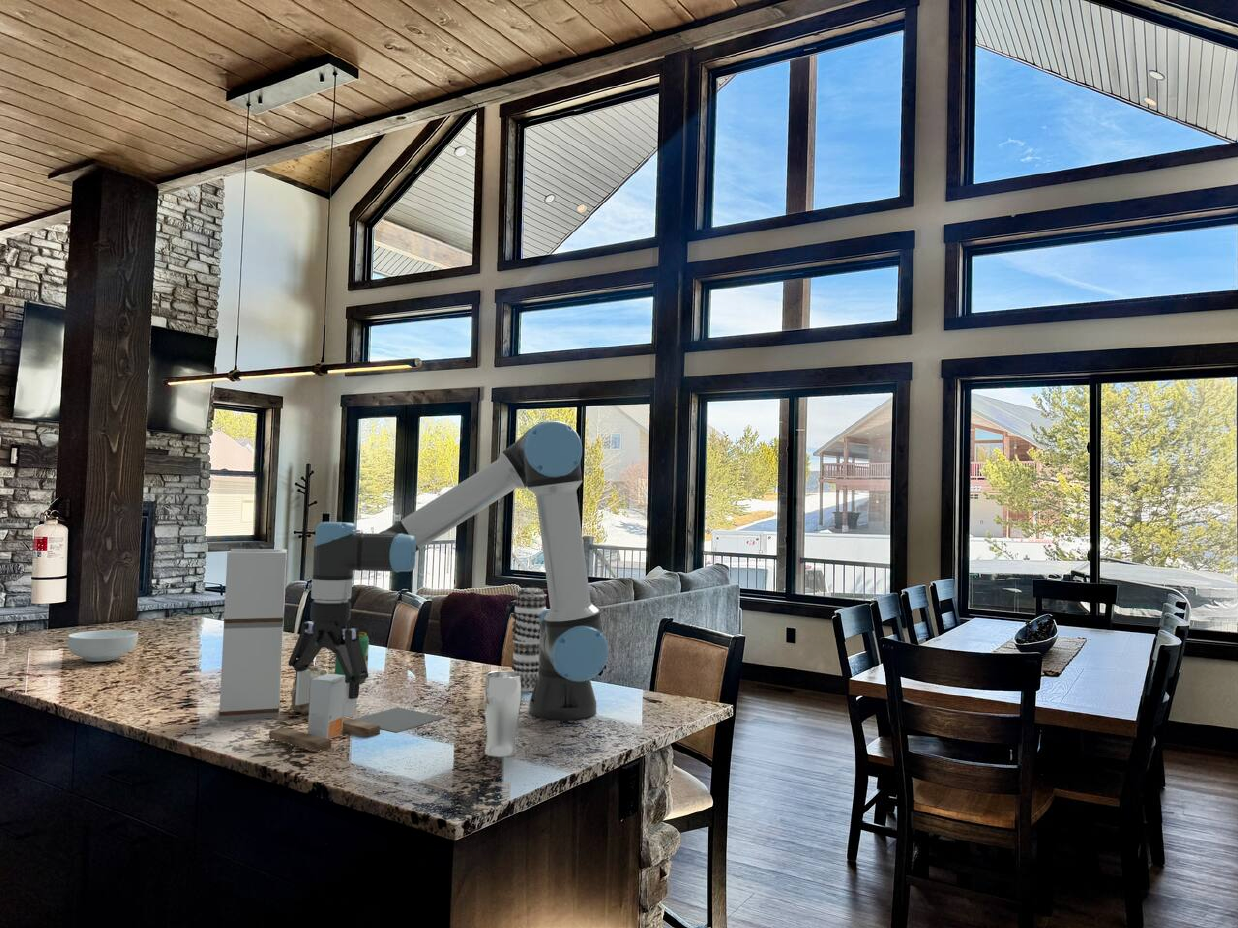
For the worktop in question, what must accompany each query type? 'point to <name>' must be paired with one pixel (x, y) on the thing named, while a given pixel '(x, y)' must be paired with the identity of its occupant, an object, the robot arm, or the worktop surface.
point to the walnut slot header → (319, 742)
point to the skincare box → (326, 706)
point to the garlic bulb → (304, 708)
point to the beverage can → (364, 646)
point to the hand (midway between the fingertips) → (325, 709)
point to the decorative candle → (527, 635)
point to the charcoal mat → (399, 719)
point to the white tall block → (253, 634)
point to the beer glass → (502, 712)
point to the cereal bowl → (102, 644)
